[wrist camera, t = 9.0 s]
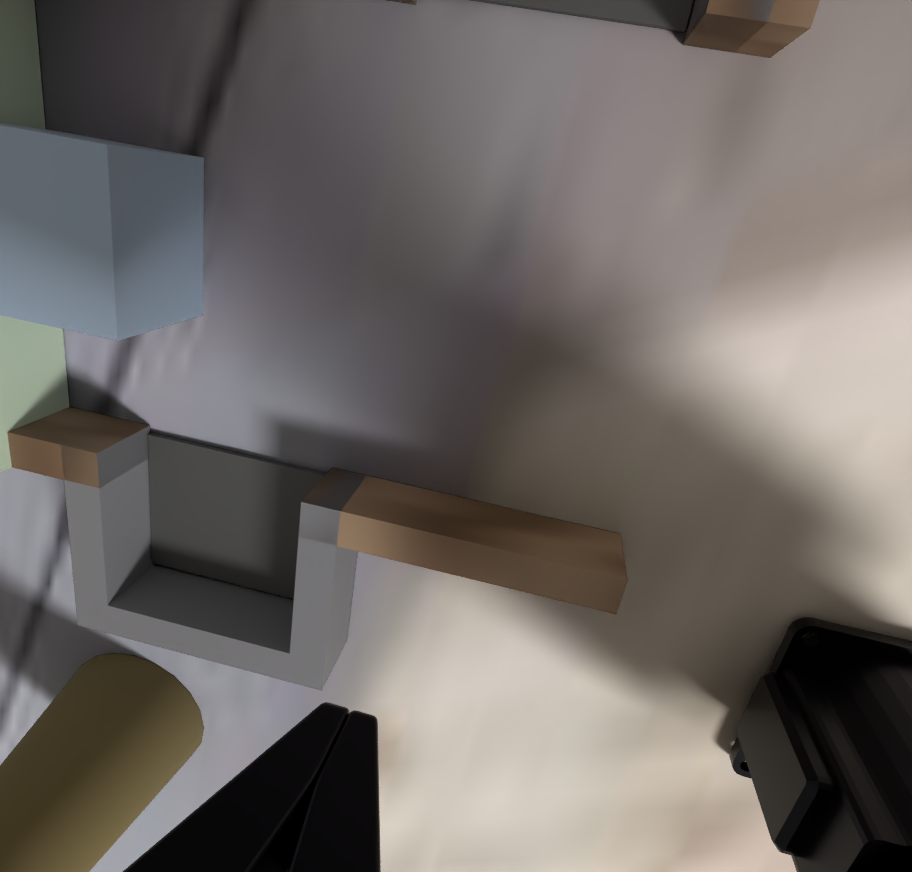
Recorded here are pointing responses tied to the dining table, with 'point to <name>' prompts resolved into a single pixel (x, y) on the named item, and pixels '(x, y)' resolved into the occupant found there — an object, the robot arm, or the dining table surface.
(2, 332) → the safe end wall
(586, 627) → the dining table surface
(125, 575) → the trap pockets
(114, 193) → the slate block
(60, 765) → the cork
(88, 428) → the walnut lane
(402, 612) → the dining table surface
